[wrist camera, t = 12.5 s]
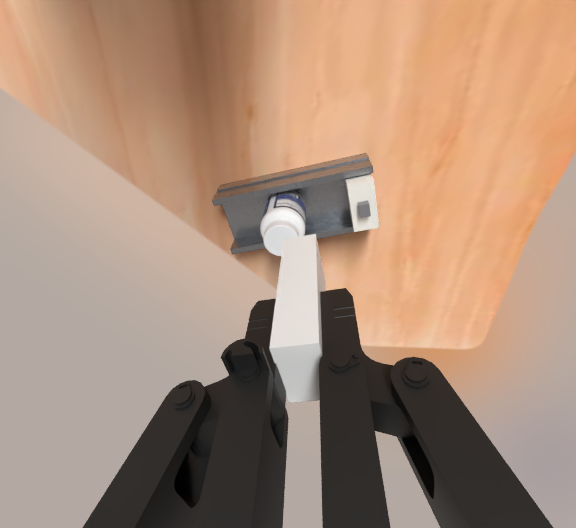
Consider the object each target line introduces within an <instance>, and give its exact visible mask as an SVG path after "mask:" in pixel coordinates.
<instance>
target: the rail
mask: <svg viewBox="0 0 576 528" xmlns="http://www.w3.org/2000/svg"><path fill="white" fill-rule="evenodd" d="M369 173H373V166H372V164H371V162H370V160H369V157H368V155H367V153H364V154H360V155H355V156H351V157H346V158H342V159H337V160H333V161H328V162H324V163H319V164H315V165H310V166H306V167H301V168H297V169H292V170H288V171H283V172H278V173H274V174H269V175H265V176H260V177H256V178H251V179H247V180H242V181H238V182H233V183H229V184H224V185H220V187H219V188H218V190H217V193H216V195H215V196H214V198H213V199H212V202H213V205H214V206H217V205H222V206H223V208H224V211H225V214H226V217H227V219H228V222H229V225H230V228H231V230H232V233H233V236H234V242H233V244H232V247H231V249H230V250H231V252H232V254H237V253H242V252H248V251H253V250H259V249H264V248H266V247H265V245H264V242H263V237H262V235H261V231H260V226H261V221H262V217H263V214H264V210H265V206H266V203H267V200H268V199H269V197H270V196H271V195H272V194H274V193H278V192H283V191H288V190H293V191H295V192H297V193H298V194H300V195H301V197H302V198H303V200H304V202H305V206H306V226H305V235H304V236H306V235H312V234H316V237H317V239H319V238H325V237H330V236H336V235H341V234H347V233H352V232H354V229H353V225H352V221H351V216H350V210H349V204H348V197H347V191H346V184H345V178H350V177H354V176H359V175H364V174H369ZM378 223H379V222H378Z"/></svg>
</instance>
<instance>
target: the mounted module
mask: <svg viewBox="0 0 576 528" xmlns="http://www.w3.org/2000/svg"><path fill="white" fill-rule="evenodd" d="M345 184H346V191H347V197H348V204H349V210H350V216H351V221H352V225H353V229H354V232H358V231H363V230H369V229H374V228H379V223H378V214H377V204H376V195H375V186H374V180H373V178H372V175H371V173H369V174H364V175H359V176H354V177H350V178H345Z"/></svg>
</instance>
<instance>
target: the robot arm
mask: <svg viewBox="0 0 576 528" xmlns="http://www.w3.org/2000/svg"><path fill="white" fill-rule="evenodd" d="M221 359H222V361H223V363H224V365H225V367H226V369H227V371H228V373H229V376H228V377H226V378H224V379H222V380H220V381H218V382H216V383H213V384H210V385H208V386H205V387H204V386H203V385H202V384H201V383H200V382H198V381H195V380H192V381H186V382H183V383H181V384H179V385H177V386H176V387H175V388H173V389H172V390H171V391H170V393H169V394H168V395H167V396H166V398H165V400H164V401H163V402H162V404H161V406H160V407H159V409H158V410H157V412H156V414H155V415H154V416H153V418H152V420H151V421H150V423H149V424H148V426H147V428H146V429H145V431H144V432H143V434H142V435H141V437H140V438H139V440H138V442H137V443H136V445H135V446H134V448H133V449H132V451H131V453H130V454H129V456H128V457H127V459H126V460H125V462H124V464H123V465H122V467H121V469H120V470H119V472H118V473H117V475H116V476H115V478H114V479H113V481H112V482H111V484H110V486H109V487H108V489H107V490H106V492H105V494H104V495H103V497H102V498H101V500H100V501H99V503H98V504H97V506H96V508H95V509H94V511H93V512H92V514H91V515H90V517H89V519H88V520H87V522H86V523H85V525H84V527H83V528H282V526H283V507H284V489H285V470H286V451H287V434H288V432H287V431H288V414H287V410H286V408H285V402H286V396H287V398H288V401H289V403H292V402H304V401H317V400H320V430H321V471H322V472H321V474H322V515H323V528H390V522H389V516H388V510H387V504H386V498H385V491H384V485H383V479H382V473H381V467H380V461H379V455H378V448H377V442H376V436H375V431H378V432H382V433H386V434H390V435H393V436H397V438H398V440H399V442H400V444H401V446H402V448H403V450H404V452H405V454H406V456H407V458H408V461H409V463H410V465H411V467H412V469H413V471H414V473H415V475H416V477H417V479H418V481H419V483H420V486H421V488H422V490H423V492H424V494H425V496H426V498H427V500H428V503H429V505H430V506H431V509H432V511H433V513H434V515H435V517H436V519H437V521H438V523H439V526H440V527H441V528H553V527H552V525H551V524H550V523H549V521H548V520H547V518H546V517H545V516H544V514H543V513H542V511H541V510H540V509H539V507H538V506H537V505H536V503H535V502H534V501H533V499H532V498H531V496H530V495H529V493H528V492H527V491H526V489H525V488H524V487H523V485H522V484H521V483H520V481H519V480H518V478H517V477H516V475H515V474H514V473H513V471H512V470H511V468H510V467H509V466H508V464H507V463H506V462H505V460H504V459H503V458H502V456H501V455H500V453H499V452H498V451H497V449H496V448H495V446H494V445H493V444H492V442H491V441H490V440H489V438H488V437H487V436H486V434H485V432H484V431H483V430H482V428H481V427H480V426H479V424H478V423H477V422H476V420H475V419H474V417H473V416H472V414H471V413H470V412H469V410H468V409H467V407H466V406H465V405H464V403H463V402H462V401H461V399H460V398H459V396H458V395H457V394H456V392H455V391H454V389H453V388H452V387H451V385H450V384H449V383H448V381H447V380H446V379H445V377H444V376H443V374H442V373H441V371H440V370H439V369H438V368H437V367H436V366H435V365H434V364H433V363H432V362H429V361H427V360H425V359H423V358H417V357H410V358H404V359H402V360H400V361H398V362H397V363H396V364H395V365H394V366H393V365H387V364H382V363H379V362H376V361H374V360H371V359H370V358H369V357H367V356H366V355H365V354H364V352H363V351H362V348H361V345H360V339H359V333H358V327H357V321H356V315H355V308H354V302H353V296H352V295H351V294H350V293H349V291H348V290H347V289H346V288H343V289H336V290H329V291H326V284H325V277H324V272H323V267H322V262H321V257H320V252H319V247H318V242H317V237H316V234H312V235H306V236H300V237H294V238H288V239H284V241H283V248H282V256H281V263H280V271H279V279H278V286H277V294H276V299H270V300H262V301H258V302H257V303H256V305H255V306H254V307H253V309H252V310H251V313H250V318H249V323H248V327H247V332H246V336H245V339H241V340H237V341H235V342H234V343H232V344H230V345H229V346H228V347H227V348H226V349H225V350H224V352H223V354H222V356H221Z"/></svg>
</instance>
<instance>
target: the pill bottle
mask: <svg viewBox="0 0 576 528" xmlns="http://www.w3.org/2000/svg"><path fill="white" fill-rule="evenodd" d="M305 226H306V206H305V202H304V200H303V198H302V197H301V195H300V194H298V193H297V192H295V191H293V190H288V191H283V192H278V193H274V194H272V195H271V196H270V197H269V199H268V200H267V203H266V206H265V210H264V214H263V217H262V221H261V226H260V231H261V235H262V237H263V242H264V245H265V247H266V249H267V250H268V251H269V252H270V253H272V254H274V255H276V256H282V248H283V241H284V239H288V238H294V237H300V236H304V235H305Z"/></svg>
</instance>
